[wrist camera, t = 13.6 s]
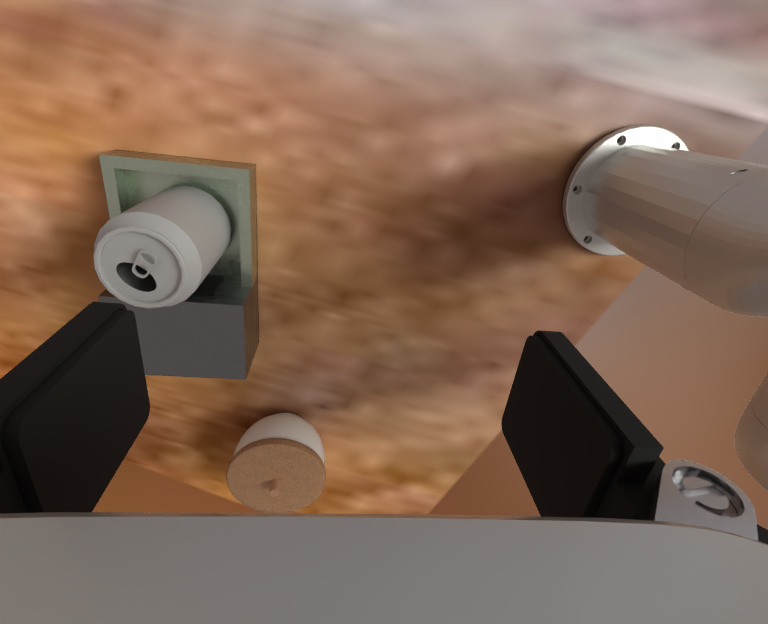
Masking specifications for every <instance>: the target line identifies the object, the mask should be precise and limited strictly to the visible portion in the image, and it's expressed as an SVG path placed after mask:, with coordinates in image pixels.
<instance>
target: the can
mask: <svg viewBox="0 0 768 624" xmlns="http://www.w3.org/2000/svg"><path fill="white" fill-rule="evenodd" d="M230 240H231V225H230V221H229V217H228V215H227V213H226V212H225V210H224V208H223V207H222V205H221V204H220V203H219V202H218V201H217V200H216V199H215V198H214V197H213V196H212V195H210V194H208V193H206V192H204V191H202V190H201V189H199V188H195V187H190V186H185V185H184V186H174V187H170V188H168V189H165V190H163V191H161V192H159V193H157V194H156V195H154V196H152V197H150V198H148V199H146V200H145V201H143V202H141V203H139V204H137V205H135V206H134V207H132V208H130V209H128V210H126V211H124V212H123V213H121V214H119V215H117V216H115V217H113V218H112V219H110V220H108V221H107V222H106V224H105V225H104V226H103V227H102V228H101V229H100V230H99V232H98V235H97V238H96V241H95V244H94V250H95V251H94V254H93V259H94V268H95V271H96V273H97V276H98V278H99V280H100V281H101V283H102V284H103V285H104V286H105V288H106V289H107V290H108V291H109V292H110V293H111V294H113V295H114V296H115V297H117V298H118V299H119V300H121V301H123V302H125V303H128V304H130V305H133V306H136V307H142V308H148V309H149V308H158V307H166V306H173V305H176V304H178V303H180V302H182V301H185V300H186V299H187V298H188V297H189V296H190V295H191V294H193V293H194V292H195V291H196V289H197V288H198V287H199V285H200V284H201V283H202V281H203V280H204V279H205V277H206V276H207V275H208V273H209V272H210V271H211V269H212V268H213V267H214V265H215V264H216V263H217V261H218V260H219V259H220V257H221V256H222V255H223V253H224V252H225V251H226V249H227V247H228V244H229V242H230Z"/></svg>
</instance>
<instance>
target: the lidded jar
mask: <svg viewBox="0 0 768 624" xmlns="http://www.w3.org/2000/svg"><path fill="white" fill-rule="evenodd" d="M226 480H227V485H228V487H229V489H230V491H231V493H232V494H233V495H234V496H235V497H236V499H238V500H239V501H240V502H241V503H243V504H244V505H246V506H248V507H250V508H253V509H255V510H259V511H263V512H268V513H285V512H291V511H295V510H299V509H301V508H303V507H305V506H307V505H309V504H310V503H312V502H313V501H314V500H315V499H316V498H317V497H318V496H319V495H320V494H321V492H322V491H323V488H324V486H325V480H326V471H325V453H324V448H323V444H322V440H321V438H320V436H319V434H318V432H317V431H316V429H315V428H314V427H313V426H312V425H311V424H310V423H309V422H307V421H306V420H304V419H302V418H301V417H299V416H297V415H295V414H291V413H277V414H274V415H270V416H267V417H264V418H262V419H260V420H259V421H257V422H255V423H254V424H253V425H252V426H251V427H250V428H249V429H248V430H247V431H246V432H245V433H244V435H243V436H242V438H241V439H240V441H239V443H238V445H237V447H236V449H235V452H234V454H233V457H232V459H231V461H230V463H229V466H228V470H227V475H226Z"/></svg>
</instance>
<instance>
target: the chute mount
mask: <svg viewBox="0 0 768 624" xmlns="http://www.w3.org/2000/svg"><path fill="white" fill-rule="evenodd" d="M99 159H100V164H101V170H102V176H103V182H104V187H105V193H106V199H107V205H108V211H109V216H110V219H112V218H113V217H115V216H117V215H119V214H121V213H123V212H124V211H126V210H128V209H130V208H132V207H134V206H135V205H137V204H139V203H141V202H143V201H145V200H146V199H148V198H150V197H152V196H154V195H156V194H157V193H159V192H161V191H163V190H165V189H168V188H170V187H174V186H184V185H185V186H190V187H195V188H199V189H201V190H202V191H204V192H206V193H208V194H210V195H212V196H213V197H214V198H215V199H216V200H217V201H218V202H219V203H220V204H221V205H222V207H223V208H224V210H225V212H226V213H227V215H228V217H229V221H230V225H231V240H230V242H229V244H228V247H227V249H226V251H225V252H224V253H223V255H222V256H221V257H220V259H219V260H218V261H217V263H216V264H215V265H214V267H213V268H212V269H211V271H210V272H209V273H208V275H207V276H206V277H205V279H204V280H203V281H202V283H201V284H200V285H199V287H198V288H197V289H196V291H195V292H194V293H193V294H191V295H190V296H189V297H188V298H187V299H186V300H185V301H182V302H180V303H178V304H176V305H173V306H166V307H158V308H149V309H148V308H142V307H136V306H133V305H130V304H128V303H125V302H123V301H121V300H119V299H118V298H117V297H115V296H114V295H113V294H111V293H110V292H109V291H108V290H107V289H106V290H105V291H104V292H103V293H102V294H100V295H99V301H100V302H106V303H121V304H124V305H125V307H126V308H127V310H131V311H133V312H134V314H135V318H136V324H137V330H138V336H139V342H140V348H141V354H142V360H143V366H144V373H145V375H162V376H183V377H205V378H226V379H246V378H247V375H248V372H249V369H250V367H251V364H252V361H253V358H254V355H255V352H256V349H257V346H258V343H259V313H258V259H257V204H256V164H248V163H239V162H229V161H220V160H210V159H201V158H191V157H182V156H172V155H163V154H153V153H144V152H134V151H125V150H113V151H109V152H105V153H101V154H99Z"/></svg>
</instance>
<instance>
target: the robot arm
mask: <svg viewBox="0 0 768 624" xmlns="http://www.w3.org/2000/svg"><path fill="white" fill-rule="evenodd" d="M617 139H618V141H617ZM574 187H575V189H574V190H573V188H574ZM563 216H564V221H565V225H566V227H567V229H568V231H569V233H570V234H571V236H572V237H573V238H574V239H575V241H576V242H578V243H579V244H580V245H582V246H583V247H585V248H586V249H588V250H590V251H591V252H594V253H597V254H601V255H609V256H616V255H624V254H628V255H629V256H631V257H633V258H635V259H636V260H638V261H640V262H641V263H643V264H645V265H646V266H648V267H650V268H651V269H654V270H655V271H657V272H659V273H660V274H662V275H663V276H665V277H667V278H668V279H670V280H672V281H673V282H675V283H677V284H679V285H680V286H682V287H684V288H685V289H687V290H689V291H691V292H692V293H694V294H696V295H697V296H699V297H701V298H703V299H704V300H706V301H708V302H709V303H711V304H713V305H715V306H717V307H719V308H721V309H723V310H726V311H729V312H732V313H736V314H740V315H746V316H754V317H768V166H767V165H761V164H755V163H750V162H745V161H739V160H734V159H728V158H723V157H717V156H712V155H707V154H701V153H696V152H690V151H689V150H688V148H687V146H686V145H685V143H684V141H683V140H681V139H680V138H679V137H678V136H677V135H676V134H675V133H673V132H671V131H669V130H667V129H665V128H661V127H657V126H651V125H635V126H629V127H625V128H622V129H619V130H616V131H614V132H612V133H610V134H608V135H606V136H605V137H603V138H602V139H601V140H599V141H598V142H596V143H595V144H594V145H593V146H592V147H591V148H590V149H589V150H588V151H587V152H586V153H585V154H584V155H583V156H582V157H581V159H580V160H579V161H578V163H577V164H576V165H575V167H574V169H573V171H572V173H571V175H570V177H569V179H568V182H567V185H566V188H565V191H564V197H563ZM149 411H150V403H149V397H148V391H147V385H146V379H145V373H144V366H143V360H142V354H141V348H140V342H139V336H138V330H137V324H136V318H135V314H134V312H133V311H131V310H127V308H126V307H125V305H124V304H121V303H106V302H92V303H91V304H89V305H88V306H87V307H86V308H85V309H83V310H82V311H81V312H80V313H79V314H77V315H76V316H75V317H74V318H73V319H72V320H70V321H69V322H68V323H67V324H66V325H64V326H63V327H62V328H61V329H60V330H58V331H57V332H56V333H55V334H54V335H52V336H51V337H50V338H49V339H48V340H47V341H45V342H44V343H43V344H42V345H41V346H39V347H38V348H37V349H36V350H35V351H33V352H32V353H31V354H30V355H29V356H27V357H26V358H25V359H24V360H23V361H22V362H20V363H19V364H18V365H17V366H16V367H14V368H13V369H12V370H11V371H10V372H8V373H7V374H6V375H5V376H4V377H2V378H1V379H0V624H768V530H767V529H765V528H763V527H761V526H759V525H757V523H756V513H755V510H754V507H753V505H752V503H751V501H750V500H749V499H748V497H747V496H746V494H745V493H744V492H743V491H742V490H741V489H740V488H738V487H737V486H736V485H735V484H734V483H733V482H732V481H730V480H729V479H727V478H726V477H724V476H723V475H721V474H720V473H718V472H716V471H714V470H712V469H710V468H708V467H706V466H703V465H700V464H697V463H695V462H690V461H685V460H673V461H671V462H668V463H666V464H665V463H664V462H663V461H662V460H661V458H660V457H659V455H660V454H661V452H662V450H663V446H662V445H661V444H660V443H659V442H658V441H657V440H656V439H655V438H654V437H653V435H652V434H651V433H650V432H649V431H648V430H647V428H646V427H645V426H644V425H643V424H642V423H641V421H640V420H639V419H638V418H637V417H636V416H635V415H634V414H633V412H632V411H631V410H630V409H629V408H628V407H627V406H626V405H625V404H624V402H623V401H622V400H621V399H620V398H619V397H618V396H617V394H616V393H615V392H614V391H613V390H612V389H611V388H610V386H609V385H608V384H607V383H606V382H605V381H604V380H603V379H602V377H601V376H600V375H599V374H598V373H597V372H596V371H595V369H594V368H593V367H592V366H591V365H590V364H589V363H588V362H587V360H586V359H585V358H584V357H583V356H582V355H581V354H580V352H579V351H578V350H577V349H576V348H575V347H574V346H573V344H572V343H571V342H570V341H569V340H568V339H567V338H566V337H565V335H564V334H563V333H561V332H553V331H536V332H535V333H534V335H533V336H529V337H528V338H527V340H526V342H525V346H524V349H523V352H522V355H521V359H520V362H519V365H518V368H517V372H516V375H515V378H514V381H513V385H512V388H511V391H510V394H509V398H508V401H507V404H506V408H505V411H504V414H503V417H502V431H503V434H504V436H505V438H506V440H507V442H508V445H509V447H510V449H511V451H512V454H513V456H514V458H515V460H516V462H517V465H518V467H519V469H520V471H521V473H522V476H523V478H524V480H525V482H526V484H527V487H528V489H529V491H530V493H531V495H532V497H533V500H534V502H535V504H536V506H537V509H538V511H539V513H540V515H541V517H536V516H533V517H532V516H475V515H474V516H473V515H407V514H312V513H144V512H135V513H134V512H130V513H129V512H126V513H125V512H94V513H93V512H92V511H93V509H94V507H95V506H96V504H97V502H98V501H99V499H100V498H101V496H102V494H103V492H104V491H105V489H106V487H107V486H108V484H109V483H110V481H111V479H112V478H113V476H114V474H115V473H116V471H117V469H118V467H119V466H120V464H121V462H122V461H123V459H124V458H125V456H126V454H127V453H128V451H129V449H130V448H131V446H132V444H133V443H134V441H135V439H136V438H137V436H138V434H139V433H140V431H141V429H142V428H143V426H144V424H145V423H146V421H147V419H148V416H149ZM735 449H736V452H737V455H738V458H739V459H740V461H741V463H742V465H743V466H744V468H745V469H746V470H747V472H748V473H749V474H750V475H751V476H752V477H753V478H754V479H755V481H757V483H758V484H760V485H761V486H762V487H763V488H764V489H765V490H767V491H768V372H767V374H766V375H765V377H764V378H763V380H762V382H761V383H760V385H759V386H758V388H757V390H756V391H755V393H754V394H753V396H752V398H751V399H750V401H749V403H748V405H747V406H746V408H745V409H744V411H743V413H742V415H741V417H740V419H739V421H738V424H737V427H736V430H735Z"/></svg>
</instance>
